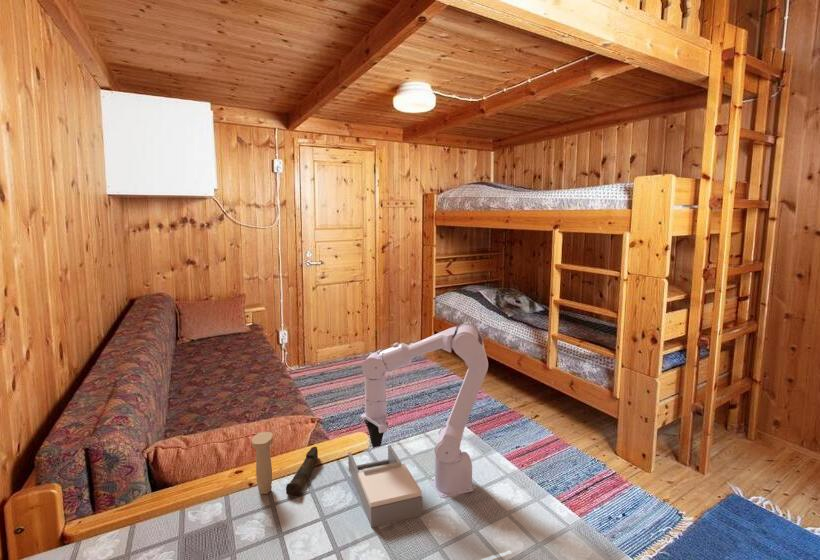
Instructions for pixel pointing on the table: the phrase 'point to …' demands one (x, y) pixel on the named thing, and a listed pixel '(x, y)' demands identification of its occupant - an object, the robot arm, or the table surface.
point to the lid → (388, 484)
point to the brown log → (302, 473)
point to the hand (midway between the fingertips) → (376, 445)
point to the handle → (263, 461)
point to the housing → (387, 511)
